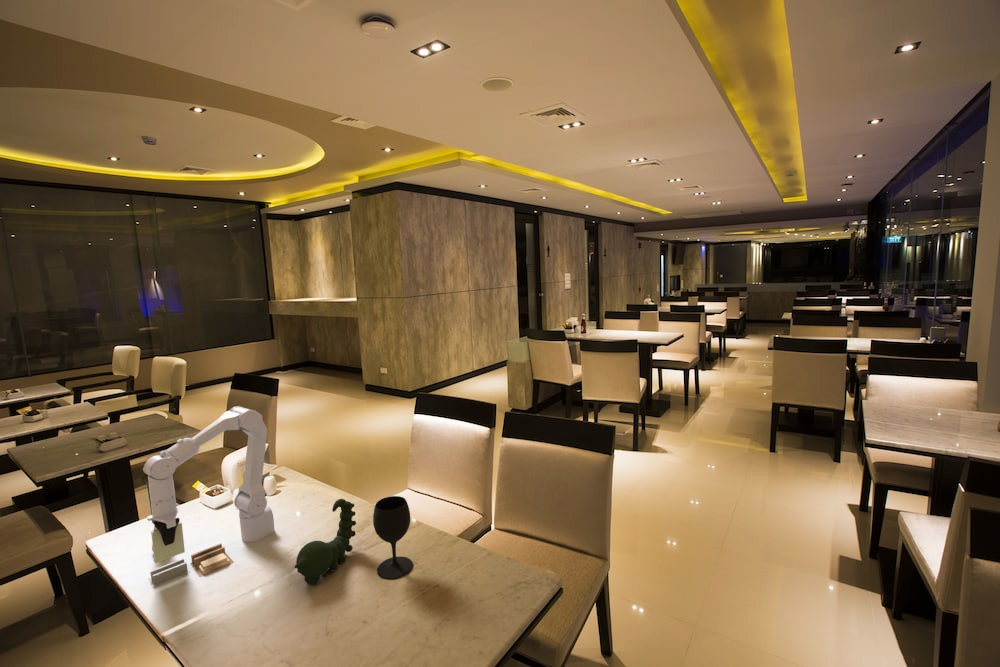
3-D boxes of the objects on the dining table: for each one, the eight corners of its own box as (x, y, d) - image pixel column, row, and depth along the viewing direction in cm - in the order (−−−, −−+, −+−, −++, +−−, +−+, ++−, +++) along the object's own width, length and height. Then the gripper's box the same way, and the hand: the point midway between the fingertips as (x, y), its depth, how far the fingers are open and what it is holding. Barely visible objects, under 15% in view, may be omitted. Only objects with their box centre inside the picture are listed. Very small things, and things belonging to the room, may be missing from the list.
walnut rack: (223, 552, 145) (222, 542, 145) (234, 564, 139) (233, 554, 138) (190, 565, 139) (188, 555, 139) (199, 579, 132) (198, 568, 132)
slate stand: (185, 566, 139) (184, 555, 138) (190, 574, 135) (189, 563, 134) (148, 581, 132) (147, 570, 132) (153, 590, 128) (151, 579, 128)
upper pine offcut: (223, 556, 140) (223, 552, 140) (227, 560, 138) (227, 557, 138) (200, 565, 136) (200, 562, 136) (204, 570, 134) (204, 567, 133)
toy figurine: (338, 550, 147) (280, 595, 124) (337, 491, 147) (279, 525, 123) (364, 554, 145) (310, 600, 121) (363, 494, 144) (309, 529, 120)
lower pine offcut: (225, 558, 141) (225, 555, 141) (229, 563, 138) (229, 560, 138) (199, 569, 136) (198, 565, 136) (203, 574, 133) (202, 571, 133)
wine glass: (420, 562, 137) (416, 498, 135) (398, 583, 128) (394, 515, 125) (391, 554, 141) (387, 492, 139) (369, 574, 132) (364, 508, 130)
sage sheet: (183, 550, 136) (180, 521, 135) (184, 552, 135) (181, 522, 134) (154, 561, 131) (151, 531, 130) (155, 563, 130) (152, 532, 129)
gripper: (140, 495, 133) (145, 539, 135) (151, 511, 123) (157, 558, 125) (169, 486, 138) (174, 529, 140) (182, 501, 129) (187, 547, 130)
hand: (168, 542), depth 133 cm, fingers closed on sage sheet, 1 cm apart
